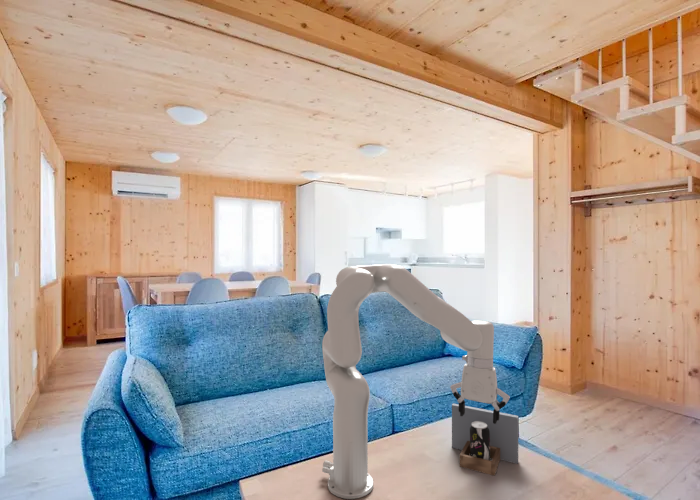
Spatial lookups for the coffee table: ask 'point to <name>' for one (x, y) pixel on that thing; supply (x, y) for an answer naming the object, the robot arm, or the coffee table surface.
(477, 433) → the beverage can
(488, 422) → the wall board
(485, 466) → the brown wooden open box
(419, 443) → the coffee table surface
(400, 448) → the coffee table surface
